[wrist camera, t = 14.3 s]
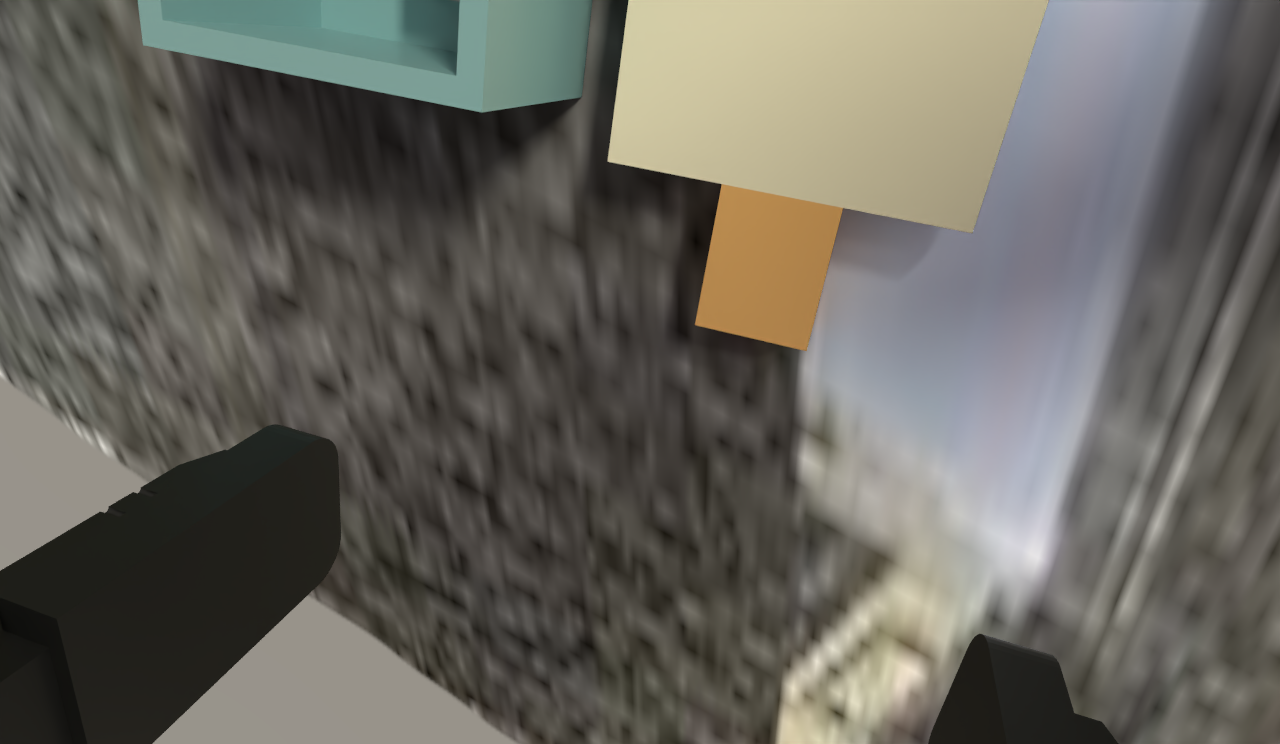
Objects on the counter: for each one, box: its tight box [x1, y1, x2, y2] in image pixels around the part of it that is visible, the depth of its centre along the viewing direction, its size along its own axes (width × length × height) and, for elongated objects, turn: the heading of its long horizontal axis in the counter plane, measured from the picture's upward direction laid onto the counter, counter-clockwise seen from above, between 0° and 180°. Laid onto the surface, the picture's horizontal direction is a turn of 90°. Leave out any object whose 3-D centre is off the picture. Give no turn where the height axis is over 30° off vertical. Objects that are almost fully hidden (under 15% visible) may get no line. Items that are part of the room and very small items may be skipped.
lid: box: [607, 0, 1049, 351], centre depth 23 cm, size 12×22×2 cm, turn 172°
